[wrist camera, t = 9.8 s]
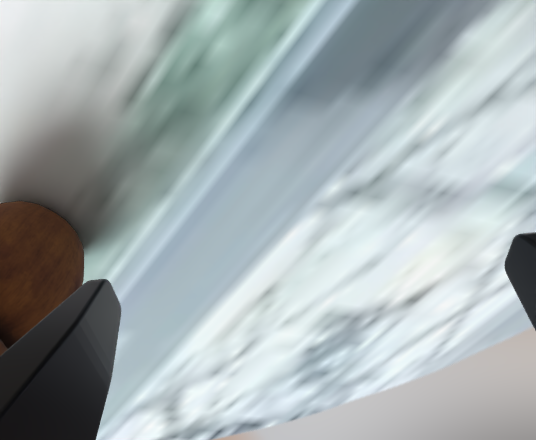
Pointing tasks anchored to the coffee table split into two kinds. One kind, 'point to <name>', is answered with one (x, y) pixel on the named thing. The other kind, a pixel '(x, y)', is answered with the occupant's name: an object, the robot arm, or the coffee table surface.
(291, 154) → the coffee table surface
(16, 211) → the wooden figurine
